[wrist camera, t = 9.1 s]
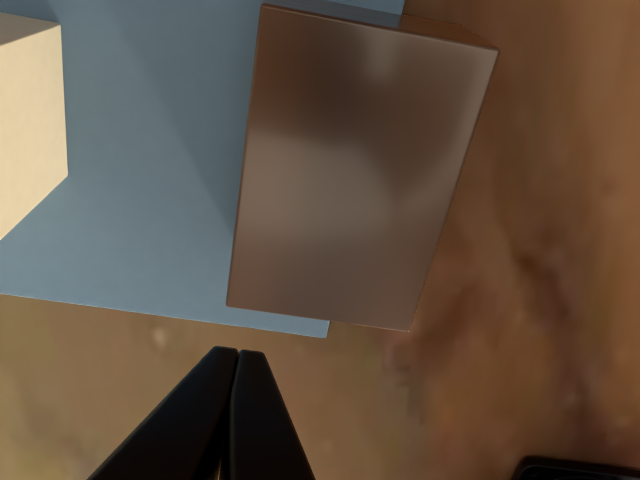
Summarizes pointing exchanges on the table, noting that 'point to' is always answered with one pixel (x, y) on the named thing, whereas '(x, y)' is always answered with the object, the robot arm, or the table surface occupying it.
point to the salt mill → (30, 115)
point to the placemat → (147, 160)
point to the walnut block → (351, 159)
